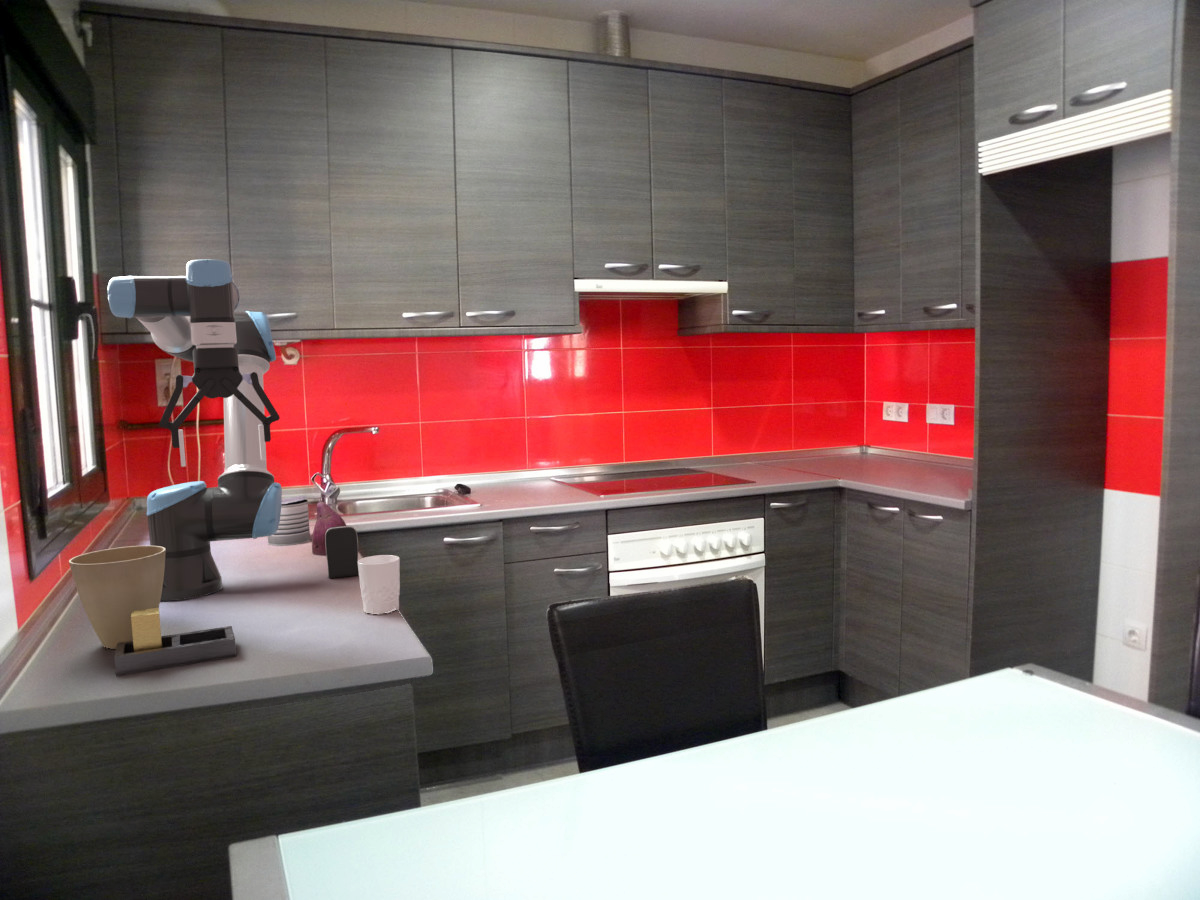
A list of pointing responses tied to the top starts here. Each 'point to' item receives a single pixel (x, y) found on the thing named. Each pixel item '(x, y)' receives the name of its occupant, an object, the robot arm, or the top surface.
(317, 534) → the vegetable
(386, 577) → the white cup
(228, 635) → the divided tray
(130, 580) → the plant pot
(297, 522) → the can
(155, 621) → the brass block
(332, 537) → the battery charger
